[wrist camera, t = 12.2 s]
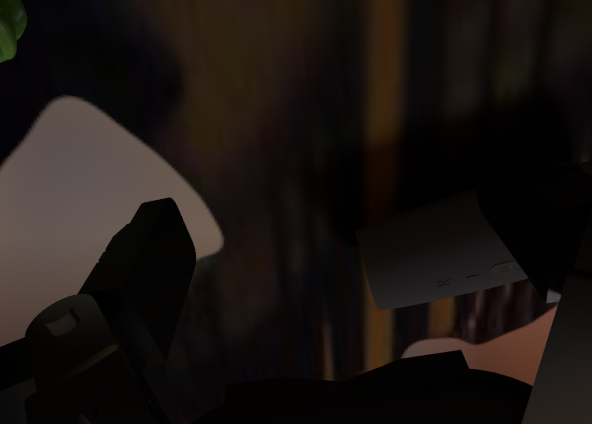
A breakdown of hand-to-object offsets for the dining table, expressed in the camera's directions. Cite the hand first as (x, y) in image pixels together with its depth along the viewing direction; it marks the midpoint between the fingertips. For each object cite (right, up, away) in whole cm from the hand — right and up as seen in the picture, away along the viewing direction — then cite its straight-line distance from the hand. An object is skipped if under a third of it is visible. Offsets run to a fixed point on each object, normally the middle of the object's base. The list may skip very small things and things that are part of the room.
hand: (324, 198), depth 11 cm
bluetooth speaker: (+17, 0, +34) cm, 38 cm away
